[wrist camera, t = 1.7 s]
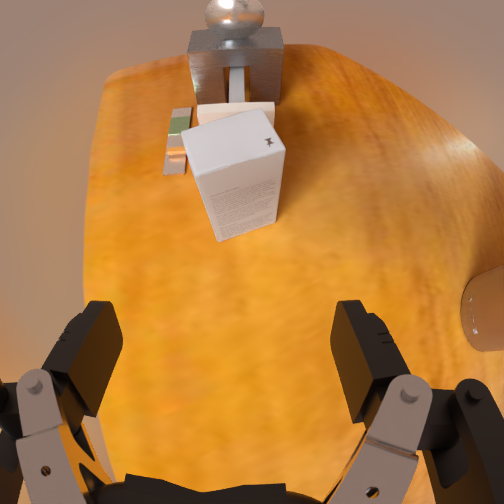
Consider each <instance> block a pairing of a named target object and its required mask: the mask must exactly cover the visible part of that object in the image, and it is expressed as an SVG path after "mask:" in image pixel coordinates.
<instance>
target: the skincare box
mask: <svg viewBox="0 0 504 504" xmlns="http://www.w3.org/2000/svg"><path fill="white" fill-rule="evenodd" d="M181 137H182V140H183V144H184V147H185V150H186V154H187V157H188V160H189V163H190V167H191V170H192V172H193V175H194V178H195V181H196V183H197V186H198V189H199V191H200V194H201V197H202V200H203V202H204V205H205V208H206V211H207V213H208V216H209V219H210V222H211V225H212V227H213V230H214V233H215V236H216V239H217V241H218V242H221V241H224V240H227V239H230V238H233V237H235V236H238V235H241V234H244V233H247V232H250V231H252V230H255V229H258V228H261V227H264V226H267V225H270V224H273V223H275V222H276V216H277V210H278V203H279V196H280V189H281V182H282V174H283V167H284V160H285V153H286V148H285V146H284V144H283V143H282V141H281V139H280V138H279V136H278V134H277V133H276V131H275V129H274V128H273V126H272V124H271V123H270V121H269V119H268V118H267V116H266V114H265V113H264V111H263V109H262V108H256V109H253V110H249V111H245V112H242V113H238V114H235V115H231V116H228V117H224V118H221V119H218V120H215V121H212V122H208V123H205V124H202V125H199V126H196V127H193V128H190V129H187V130H184V131H182V132H181Z"/></svg>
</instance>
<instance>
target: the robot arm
mask: <svg viewBox="0 0 504 504" xmlns="http://www.w3.org/2000/svg"><path fill="white" fill-rule="evenodd" d="M461 320H462V326H463V329H464V333H465V335H466V337H467V339H468V341H469V342H470V344H471V345H472V346H473V347H474V348H476V349H477V350H479V351H482V352H488V351H502V350H504V264H503V265H500V266H498V267H495V268H493V269H491V270H489V271H486V272H484V273H482V274H479V275H477V276H475V277H474V278H473V279H472V280H471V281H470V282H469V283H468V285H467V287H466V289H465V291H464V294H463V298H462V304H461ZM330 343H331V350H332V354H333V357H334V360H335V364H336V367H337V370H338V374H339V377H340V380H341V384H342V387H343V391H344V394H345V397H346V401H347V404H348V408H349V412H350V415H351V419H352V422H353V424H354V423H360V422H364V425H365V428H366V430H365V431H364V433H363V435H362V437H361V439H360V441H359V443H358V445H357V446H356V448H355V450H354V452H353V454H352V455H351V457H350V459H349V461H348V462H347V464H346V466H345V468H344V469H343V471H342V473H341V474H340V476H339V477H338V479H337V480H336V482H335V483H334V485H333V486H332V488H331V489H330V491H329V492H328V494H327V495H326V497H325V498H324V500H323V501H322V502H320V501H318V500H316V499H314V498H312V497H309V496H306V495H304V494H300V493H296V492H291V491H286V484H285V483H281V484H261V485H242V486H237V487H232V488H227V489H222V490H216V491H210V492H198V491H194V490H191V489H188V488H185V487H182V486H179V485H176V484H173V483H170V482H167V481H165V480H162V479H155V478H149V477H143V476H137V475H132V474H127V473H126V476H125V481H124V482H116V483H113V482H112V480H111V479H110V478H109V476H108V475H107V473H106V472H105V471H104V469H103V468H102V466H101V464H100V462H99V460H98V457H97V455H96V453H95V451H94V448H93V446H92V444H91V441H90V439H89V436H88V434H87V431H86V429H85V426H84V424H83V423H82V420H83V417H84V415H86V416H90V417H96V415H97V412H98V410H99V407H100V404H101V401H102V399H103V396H104V393H105V390H106V388H107V385H108V382H109V380H110V377H111V375H112V372H113V370H114V367H115V365H116V362H117V360H118V357H119V355H120V352H121V350H122V345H123V336H122V332H121V329H120V326H119V323H118V320H117V317H116V314H115V310H114V307H113V305H112V303H111V302H110V301H90V302H89V303H88V305H87V307H86V308H85V310H84V311H83V313H79V314H78V315H77V316H75V317H74V318H73V319H72V320H71V321H70V322H69V323H68V325H67V326H66V328H65V329H64V333H62V335H61V336H60V337H59V341H57V342H56V344H55V346H54V347H53V349H52V351H51V352H50V354H49V356H48V357H47V359H46V361H45V363H44V364H43V366H42V368H41V369H33V370H30V371H28V372H26V373H25V374H24V375H23V376H22V377H21V378H20V379H19V381H18V382H15V383H2V381H1V379H0V428H1V429H2V431H1V433H0V504H17V503H18V498H19V494H20V490H21V486H22V482H23V479H24V481H25V485H26V487H27V491H28V494H29V498H30V501H31V504H401V503H402V501H403V499H404V496H405V494H406V492H407V490H408V487H409V485H410V482H411V480H412V477H413V475H414V472H415V470H416V467H417V464H418V460H419V457H418V455H416V450H422V452H423V456H424V459H425V463H426V466H427V470H428V474H429V477H430V481H431V485H432V489H433V493H434V497H435V501H436V504H504V419H503V417H502V415H501V413H500V410H499V408H498V406H497V404H496V403H495V401H494V399H493V397H492V395H491V393H490V391H489V389H488V388H487V387H486V385H484V384H483V383H482V382H480V381H478V380H476V379H465V380H462V381H461V382H460V383H459V384H458V385H457V387H456V388H455V390H443V389H431V388H430V386H429V385H428V383H427V382H426V381H425V380H423V379H422V378H420V377H418V376H415V375H411V373H410V371H409V369H408V367H407V365H406V363H405V361H404V359H403V357H402V355H401V353H400V351H399V349H398V347H397V346H396V344H395V343H394V340H393V338H392V336H391V334H389V330H388V329H387V327H386V325H385V323H384V321H382V320H381V319H380V318H379V317H378V316H376V315H375V314H374V313H367V312H366V310H365V308H364V306H363V304H362V303H361V301H360V300H346V301H338V303H337V306H336V311H335V316H334V321H333V326H332V331H331V337H330Z"/></svg>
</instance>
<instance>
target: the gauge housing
mask: <svg viewBox="0 0 504 504" xmlns="http://www.w3.org/2000/svg"><path fill="white" fill-rule="evenodd" d="M263 21H264V10H263V7H262V5H261V3H260V2H259V1H258V0H212V1H211V2H210V3H209V4H208V6H207V9H206V12H205V22H206V25H207V27H208V28H209V29H207V30H198V31H192V34H191V38H190V42H189V47H188V51H187V55H188V60H189V65H190V70H191V75H192V80H193V85H194V90H195V95H196V100H197V105H204V104H219V103H226V100H227V74H226V67H234V66H249V68H250V102H274V105H279V100H280V90H281V79H282V69H283V58H284V45H283V40H282V35H281V31H280V28H279V27H261V26H262V24H263ZM191 112H192V107H189V108H179V109H173V111H172V117H171V122H170V128H169V134H168V141H167V147H166V151H167V148H169V147H180V146H184V144H183V140H182V137H181V132H182V131H184V130H187V129H190V120H191ZM186 156H187V154H175V155H167V152H166V154H165V161H164V169H163V176H172V175H185V166H186Z"/></svg>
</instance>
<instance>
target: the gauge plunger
mask: <svg viewBox="0 0 504 504" xmlns="http://www.w3.org/2000/svg"><path fill="white" fill-rule="evenodd" d="M256 108H262V109H263V111H264V113H265V114H266V116H267V118H268V119H269V121H270V123H271V124H272V126H273V128H274V117H275V106H274V102H245V93H244V66H234V67H230V81H229V103H219V104H204V105H198V108H197V117H198V122H199V125H202V124H205V123H208V122H212V121H215V120H218V119H221V118H224V117H228V116H231V115H235V114H238V113H242V112H245V111H249V110H253V109H256ZM166 152H167V155H175V154H186V150H185V147H184V146H180V147H169V148H167V151H166Z"/></svg>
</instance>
